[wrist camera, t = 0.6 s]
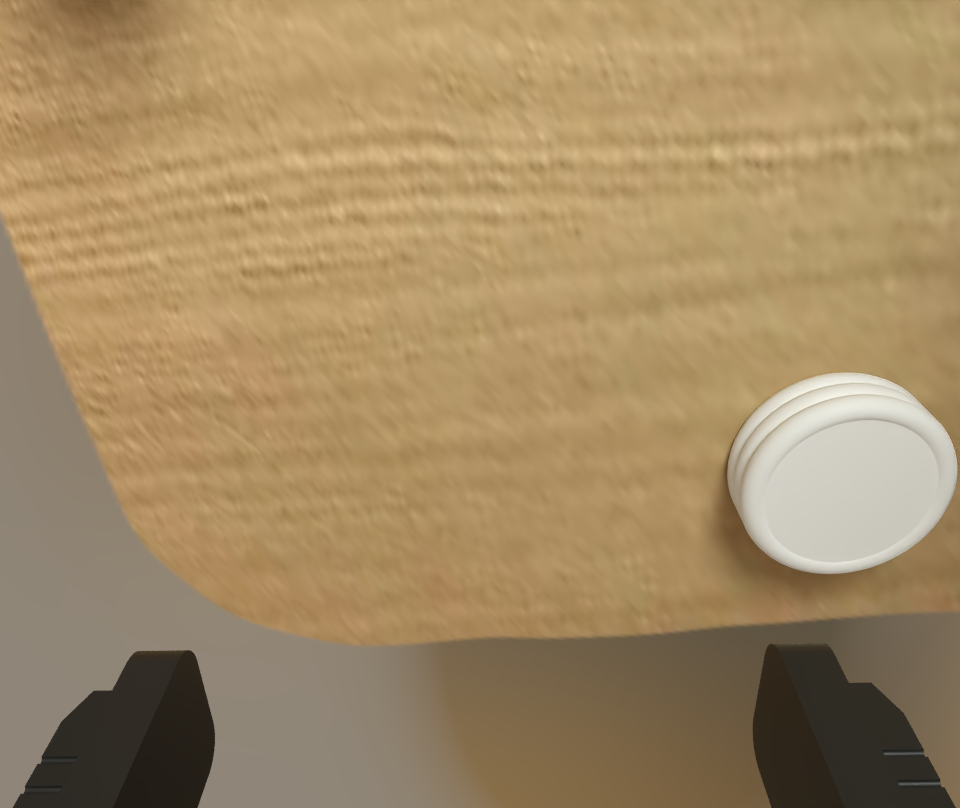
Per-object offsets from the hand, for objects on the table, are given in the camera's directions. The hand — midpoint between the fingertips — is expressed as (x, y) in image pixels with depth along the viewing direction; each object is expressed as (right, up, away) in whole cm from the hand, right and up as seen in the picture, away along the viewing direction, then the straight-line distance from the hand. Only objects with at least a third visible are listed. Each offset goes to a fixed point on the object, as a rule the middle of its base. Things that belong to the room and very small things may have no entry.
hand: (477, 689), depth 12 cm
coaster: (+17, +2, +30) cm, 35 cm away
